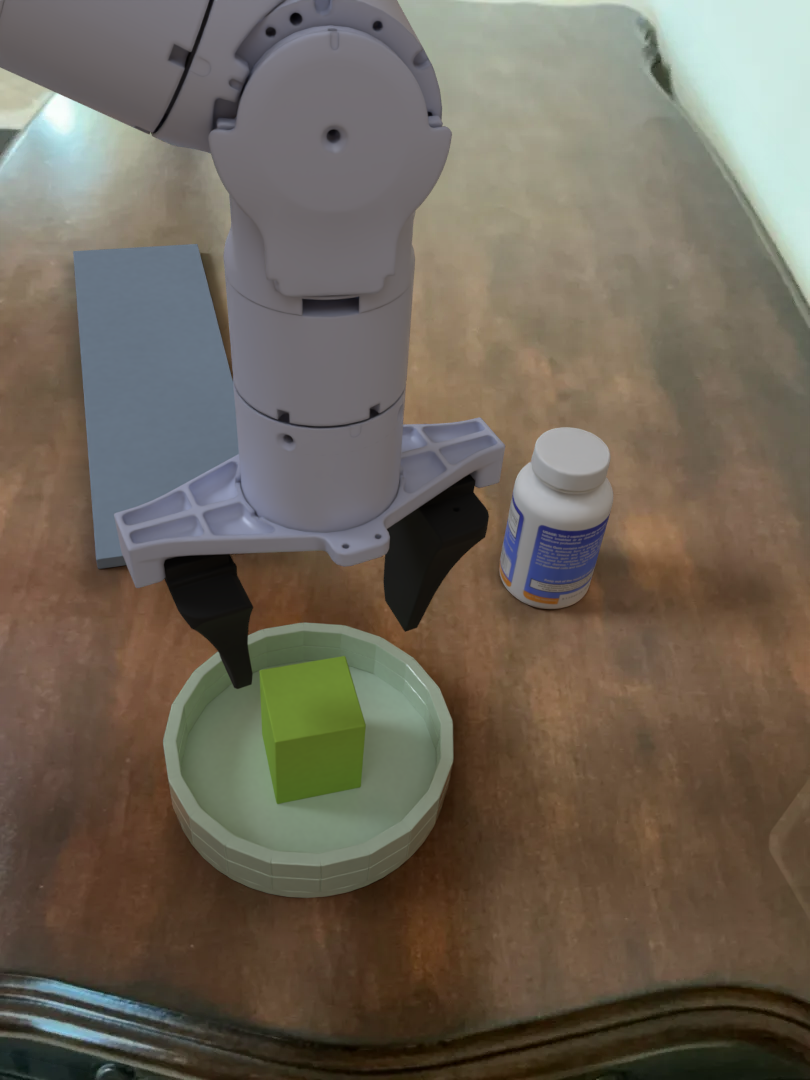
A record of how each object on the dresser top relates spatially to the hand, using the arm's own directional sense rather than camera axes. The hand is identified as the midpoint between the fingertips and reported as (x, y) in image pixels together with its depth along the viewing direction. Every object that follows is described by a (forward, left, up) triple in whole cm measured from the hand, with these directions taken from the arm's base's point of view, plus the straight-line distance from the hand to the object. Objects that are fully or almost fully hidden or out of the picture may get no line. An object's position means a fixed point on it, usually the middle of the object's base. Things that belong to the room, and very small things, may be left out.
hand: (321, 640), depth 42 cm
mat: (-23, +24, -9) cm, 34 cm away
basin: (0, -1, -9) cm, 9 cm away
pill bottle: (+7, +16, -9) cm, 20 cm away
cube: (0, -1, -8) cm, 8 cm away
